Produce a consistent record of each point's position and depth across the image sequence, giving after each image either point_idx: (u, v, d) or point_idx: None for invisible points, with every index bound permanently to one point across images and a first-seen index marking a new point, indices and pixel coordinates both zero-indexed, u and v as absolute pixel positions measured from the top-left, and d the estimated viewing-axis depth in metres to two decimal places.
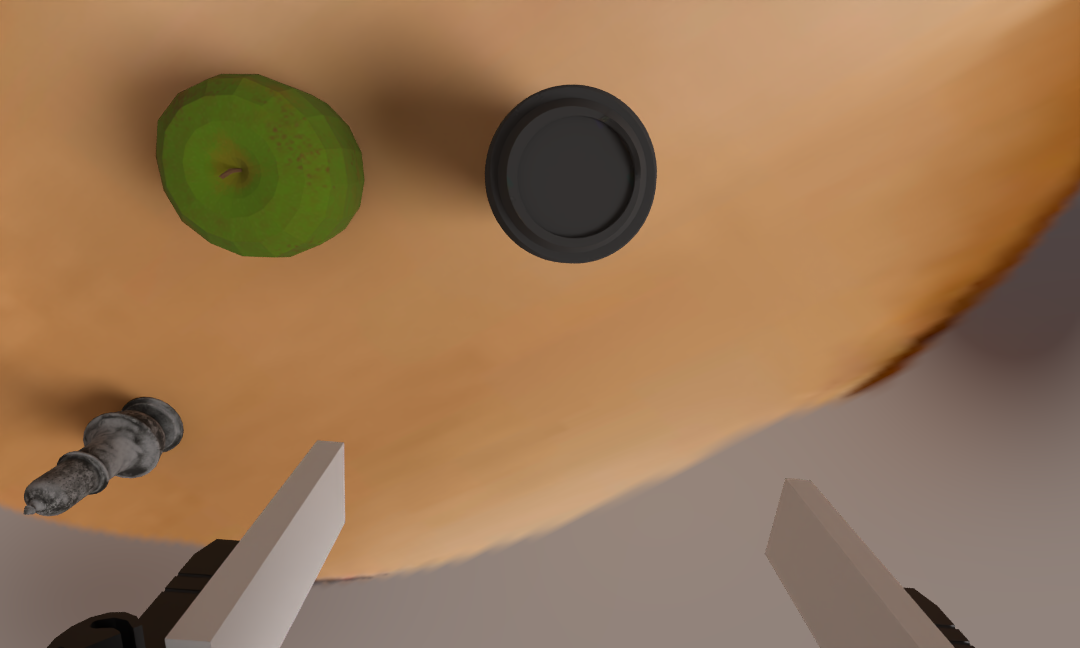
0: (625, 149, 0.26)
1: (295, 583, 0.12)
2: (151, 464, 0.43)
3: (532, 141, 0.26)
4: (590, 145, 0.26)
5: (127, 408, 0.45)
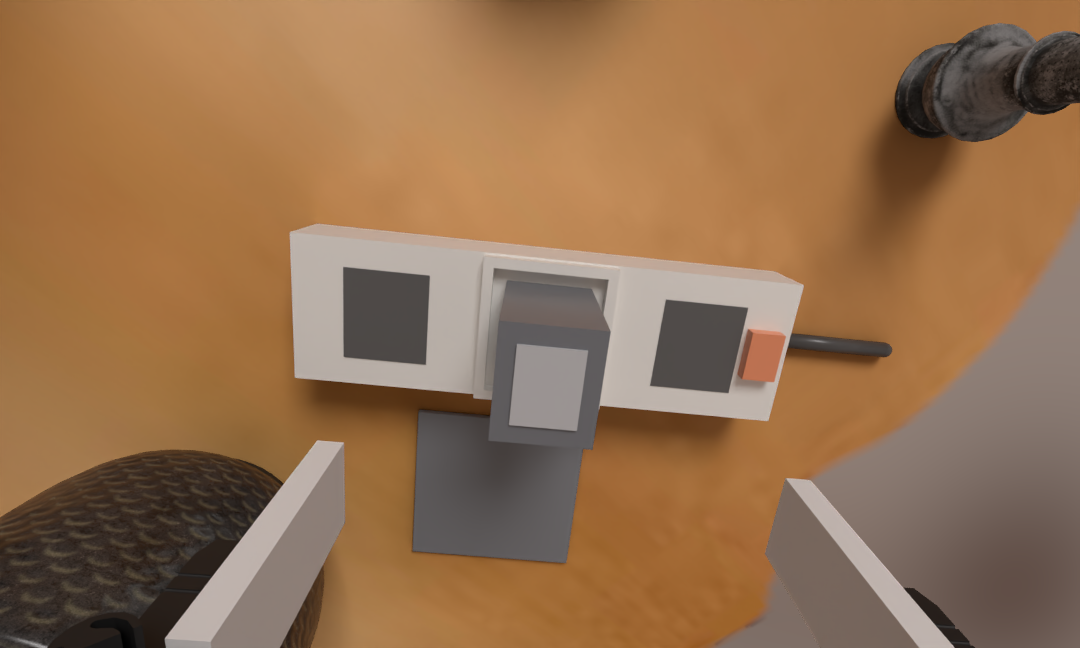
0: None
1: (295, 583, 0.12)
2: (1030, 41, 0.28)
3: None
4: None
5: (908, 119, 0.32)
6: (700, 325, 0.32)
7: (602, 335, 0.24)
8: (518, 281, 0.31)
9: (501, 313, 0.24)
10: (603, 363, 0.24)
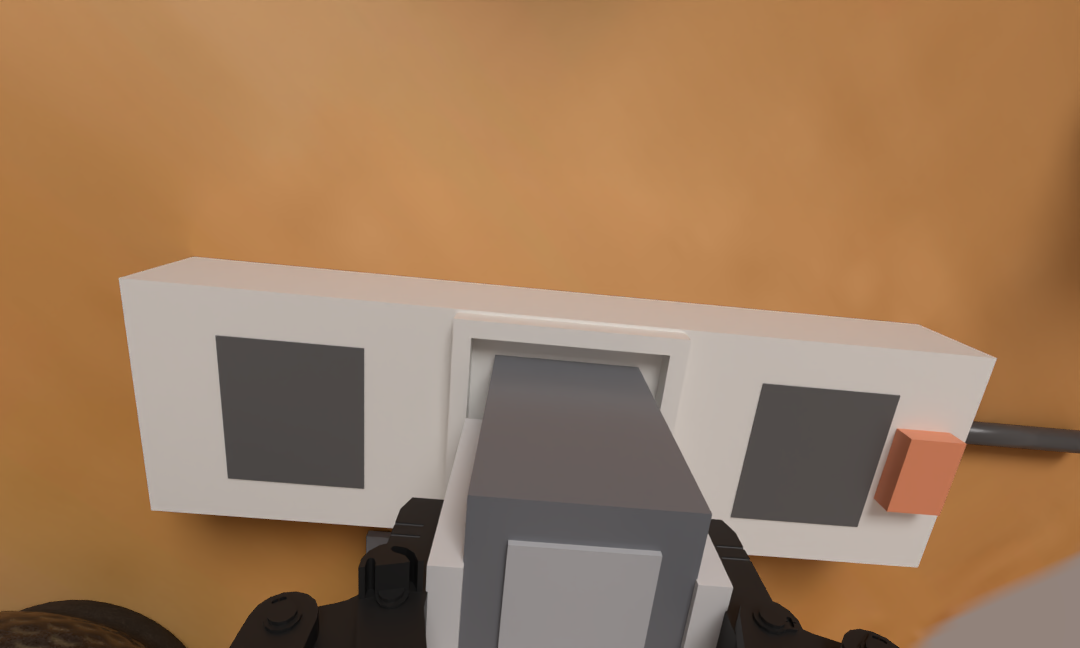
0: None
1: None
2: None
3: None
4: None
5: None
6: (819, 424, 0.19)
7: (693, 521, 0.11)
8: (514, 356, 0.18)
9: (476, 464, 0.12)
10: (693, 575, 0.11)
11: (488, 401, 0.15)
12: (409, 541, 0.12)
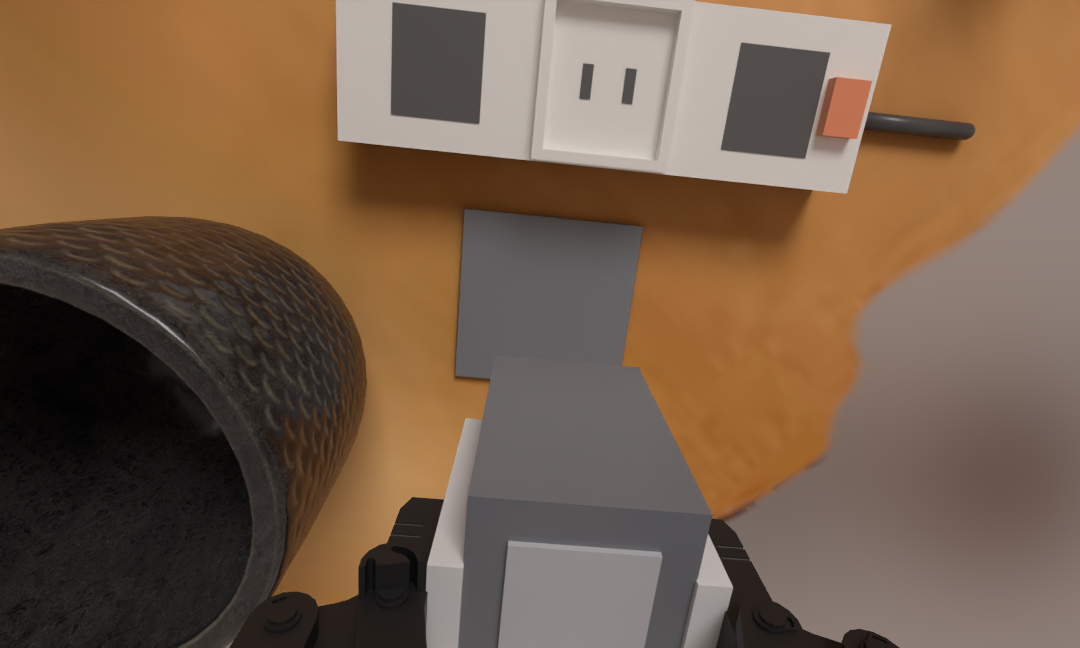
0: None
1: None
2: None
3: None
4: None
5: None
6: (778, 74, 0.29)
7: (693, 522, 0.11)
8: None
9: (476, 465, 0.12)
10: (693, 576, 0.11)
11: (488, 402, 0.15)
12: (409, 541, 0.12)
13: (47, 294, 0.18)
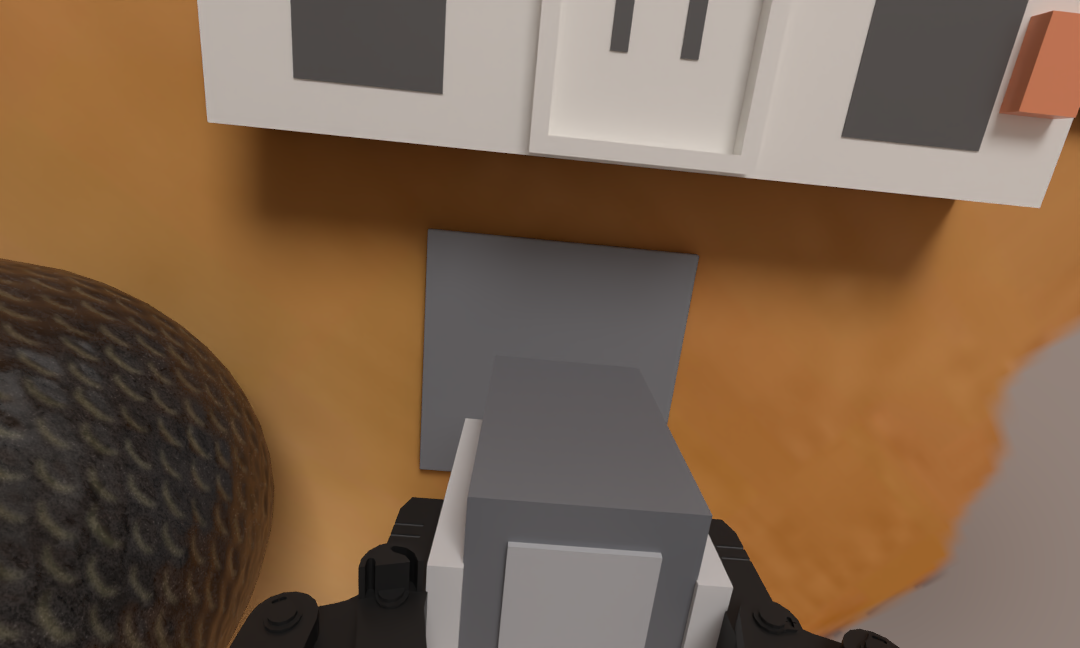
0: None
1: None
2: None
3: None
4: None
5: None
6: (946, 9, 0.17)
7: (693, 523, 0.11)
8: (514, 357, 0.18)
9: (476, 466, 0.12)
10: (693, 577, 0.11)
11: (488, 402, 0.15)
12: (409, 541, 0.12)
13: None
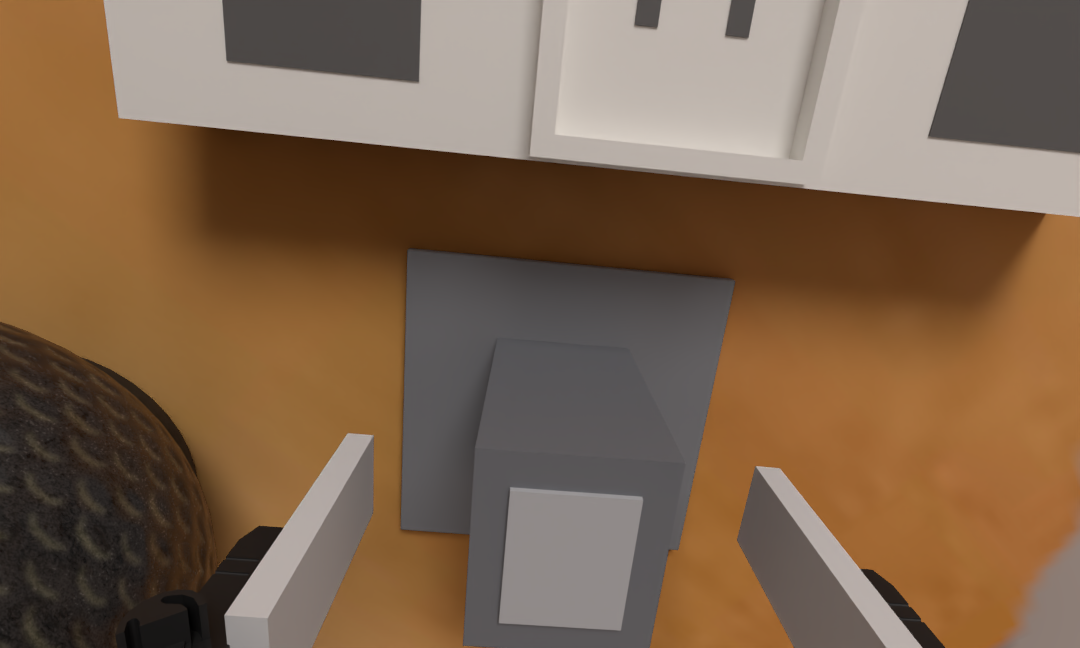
0: None
1: (333, 568, 0.13)
2: None
3: None
4: None
5: None
6: None
7: (669, 470, 0.13)
8: (515, 339, 0.20)
9: (482, 424, 0.13)
10: (670, 518, 0.13)
11: (491, 375, 0.17)
12: (233, 580, 0.11)
13: None
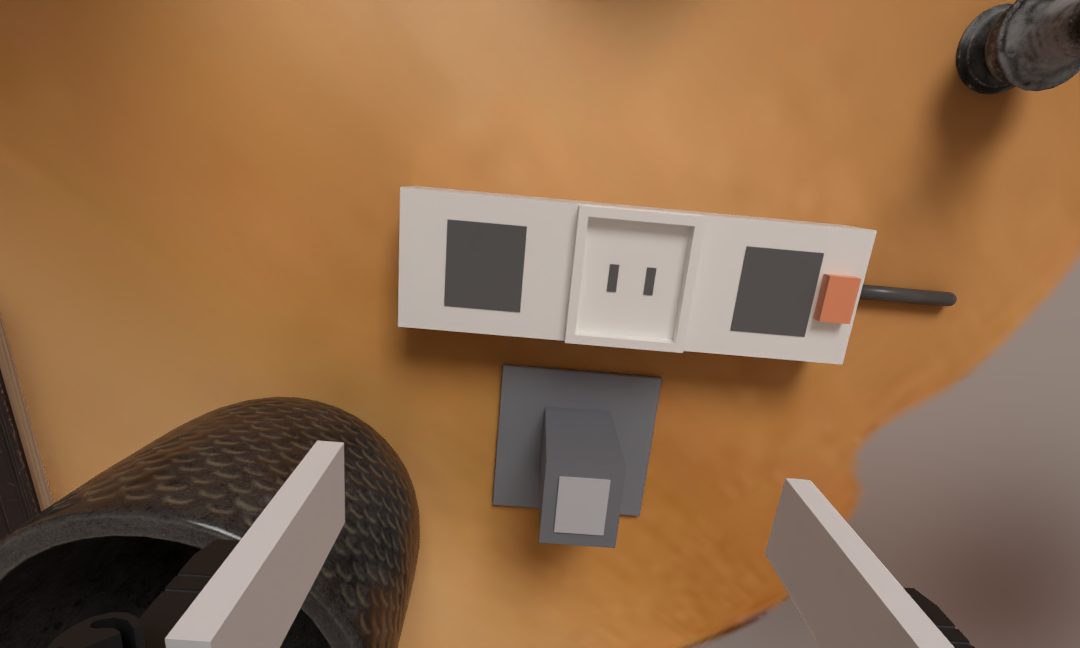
0: None
1: (295, 583, 0.12)
2: None
3: None
4: None
5: (969, 76, 0.34)
6: (779, 271, 0.34)
7: (620, 469, 0.33)
8: (554, 407, 0.41)
9: (547, 451, 0.34)
10: (621, 488, 0.33)
11: (546, 428, 0.37)
12: (183, 598, 0.10)
13: (198, 547, 0.22)
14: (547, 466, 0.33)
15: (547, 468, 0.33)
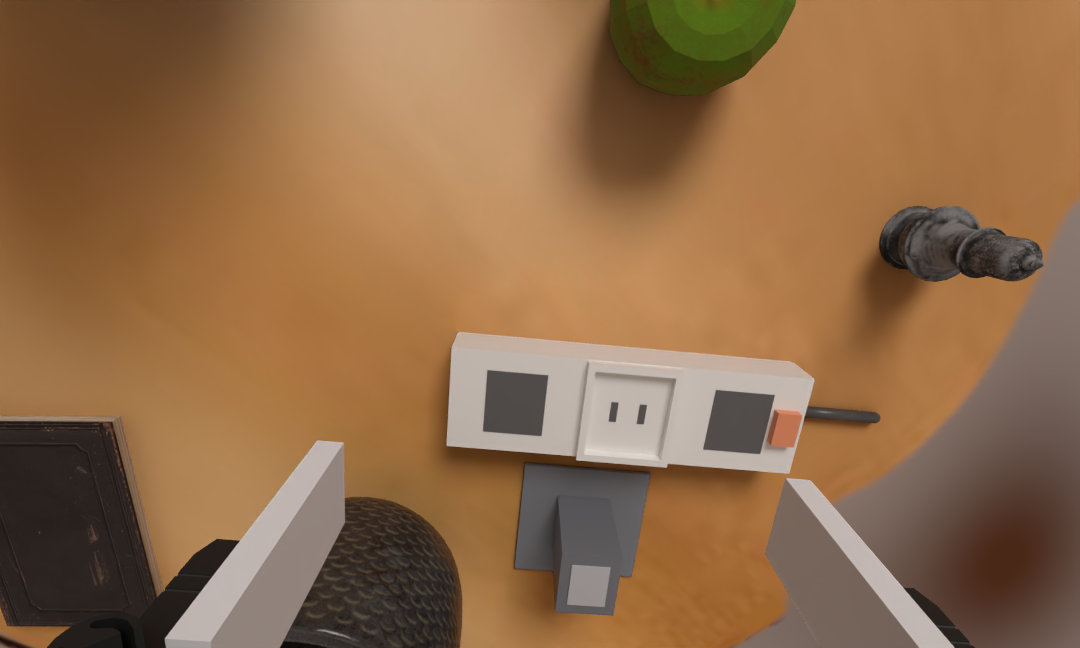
0: None
1: (295, 583, 0.12)
2: (970, 217, 0.40)
3: None
4: None
5: (889, 256, 0.45)
6: (740, 407, 0.44)
7: (618, 560, 0.44)
8: (564, 495, 0.51)
9: (562, 544, 0.44)
10: (618, 573, 0.44)
11: (560, 519, 0.47)
12: (183, 598, 0.10)
13: None
14: (562, 558, 0.44)
15: (562, 559, 0.44)
